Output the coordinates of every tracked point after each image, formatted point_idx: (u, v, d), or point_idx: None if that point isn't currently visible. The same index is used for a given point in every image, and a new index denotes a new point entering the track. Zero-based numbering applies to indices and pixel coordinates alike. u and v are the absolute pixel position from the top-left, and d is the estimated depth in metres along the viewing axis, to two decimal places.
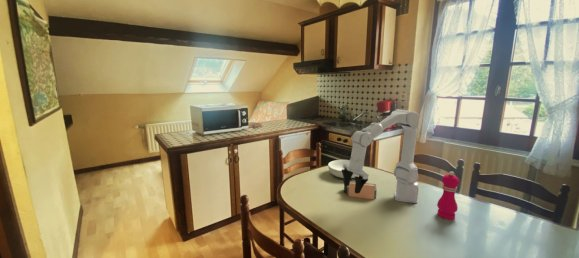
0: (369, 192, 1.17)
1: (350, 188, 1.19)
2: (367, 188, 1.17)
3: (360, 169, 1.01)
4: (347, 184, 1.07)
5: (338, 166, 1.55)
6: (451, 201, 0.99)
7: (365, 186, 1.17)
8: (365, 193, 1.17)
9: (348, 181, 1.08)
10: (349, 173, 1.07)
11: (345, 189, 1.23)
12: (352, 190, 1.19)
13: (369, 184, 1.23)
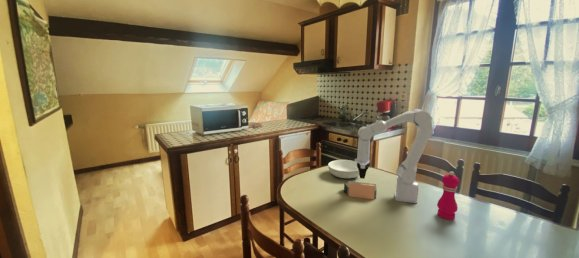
0: (369, 192, 1.17)
1: (350, 188, 1.19)
2: (367, 188, 1.17)
3: (363, 160, 1.15)
4: None
5: (338, 166, 1.55)
6: (451, 201, 0.99)
7: (365, 186, 1.17)
8: (365, 193, 1.17)
9: None
10: None
11: (345, 189, 1.23)
12: (352, 190, 1.19)
13: (369, 184, 1.23)
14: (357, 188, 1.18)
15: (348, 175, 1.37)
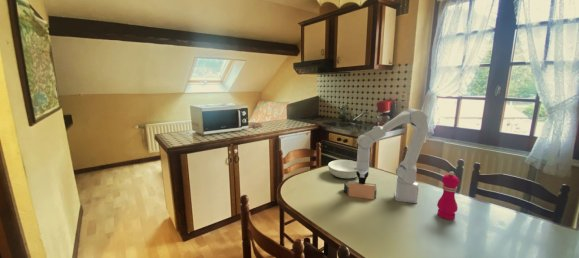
0: (369, 192, 1.17)
1: (350, 188, 1.19)
2: (367, 188, 1.17)
3: (363, 169, 1.14)
4: None
5: (338, 166, 1.55)
6: (451, 201, 0.99)
7: (365, 186, 1.17)
8: (365, 193, 1.17)
9: (363, 182, 1.18)
10: None
11: (345, 189, 1.23)
12: (352, 190, 1.19)
13: (369, 184, 1.23)
14: (357, 188, 1.18)
15: (348, 175, 1.37)
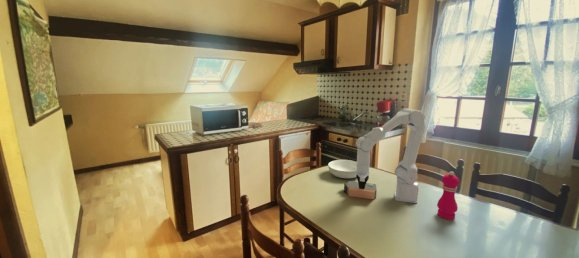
0: (369, 195, 1.15)
1: (350, 192, 1.17)
2: (367, 192, 1.14)
3: (363, 172, 1.10)
4: (362, 188, 1.14)
5: (338, 166, 1.55)
6: (451, 201, 0.99)
7: (365, 191, 1.14)
8: (365, 195, 1.16)
9: (363, 186, 1.14)
10: None
11: (345, 189, 1.23)
12: (352, 193, 1.17)
13: (369, 184, 1.23)
14: (357, 192, 1.16)
15: (348, 175, 1.37)
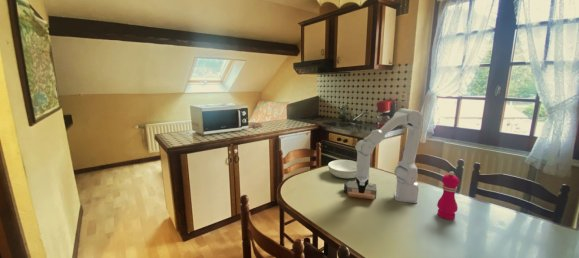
0: (369, 197, 1.14)
1: (349, 194, 1.16)
2: (366, 196, 1.13)
3: (363, 176, 1.09)
4: None
5: (338, 166, 1.55)
6: (451, 201, 0.99)
7: (365, 195, 1.12)
8: (365, 197, 1.16)
9: None
10: None
11: (345, 189, 1.23)
12: (351, 195, 1.17)
13: (369, 184, 1.23)
14: (357, 195, 1.15)
15: (348, 175, 1.37)
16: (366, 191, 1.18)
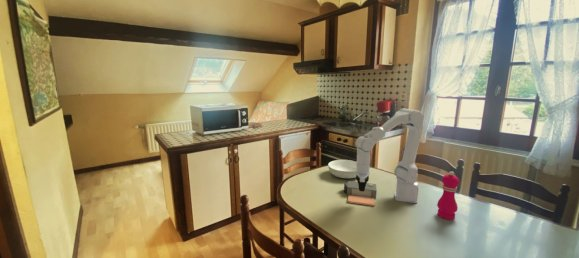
0: None
1: None
2: None
3: (363, 172, 1.07)
4: None
5: (338, 166, 1.55)
6: (451, 201, 0.99)
7: None
8: None
9: None
10: None
11: (345, 189, 1.23)
12: None
13: (369, 184, 1.23)
14: None
15: (348, 175, 1.37)
16: (366, 191, 1.18)
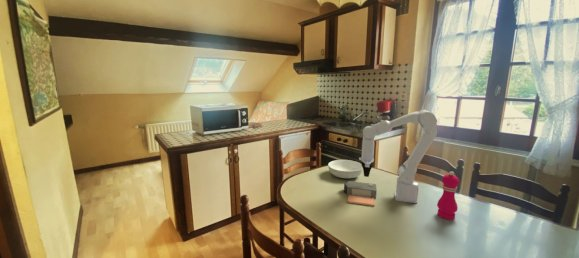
0: None
1: None
2: None
3: (368, 159, 1.17)
4: None
5: (338, 166, 1.55)
6: (451, 201, 0.99)
7: None
8: None
9: None
10: None
11: (345, 189, 1.23)
12: None
13: (369, 184, 1.23)
14: None
15: (348, 175, 1.37)
16: (366, 191, 1.18)
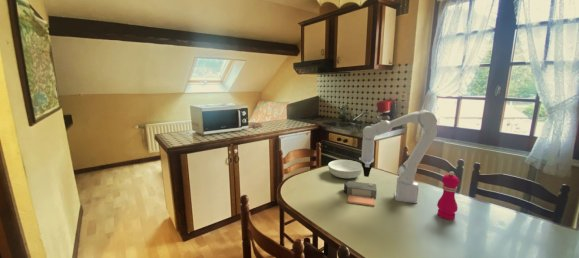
0: None
1: None
2: None
3: (368, 159, 1.17)
4: None
5: (338, 166, 1.55)
6: (451, 201, 0.99)
7: None
8: None
9: None
10: None
11: (345, 189, 1.23)
12: None
13: (369, 184, 1.23)
14: None
15: (348, 175, 1.37)
16: (366, 191, 1.18)
